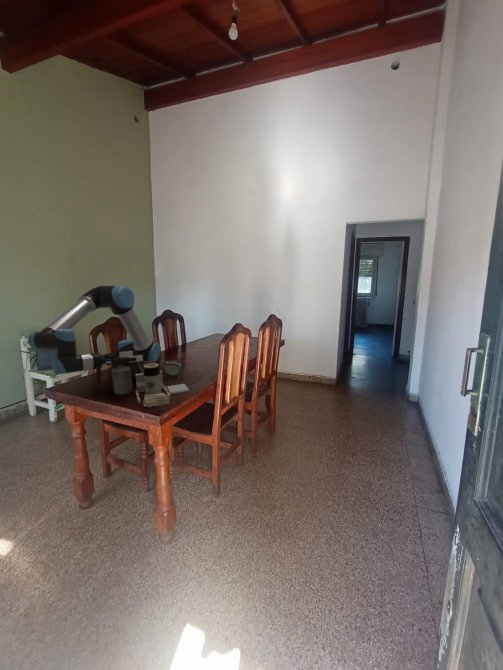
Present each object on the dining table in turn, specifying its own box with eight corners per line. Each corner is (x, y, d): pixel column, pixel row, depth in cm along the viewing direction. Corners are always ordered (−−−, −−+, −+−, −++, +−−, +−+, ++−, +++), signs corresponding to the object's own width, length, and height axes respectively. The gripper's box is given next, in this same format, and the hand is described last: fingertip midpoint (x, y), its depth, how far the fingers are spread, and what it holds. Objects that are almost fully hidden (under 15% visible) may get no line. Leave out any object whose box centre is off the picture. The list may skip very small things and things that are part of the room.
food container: (186, 377, 209) (185, 361, 207) (180, 380, 204) (179, 364, 202) (170, 374, 214) (169, 359, 212) (164, 377, 209) (162, 362, 207)
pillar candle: (130, 388, 192) (127, 362, 189) (134, 393, 184) (132, 366, 181) (112, 391, 187) (109, 365, 184) (116, 397, 179) (112, 370, 176)
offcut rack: (135, 391, 186) (133, 374, 184) (164, 387, 192) (163, 370, 190) (140, 409, 163) (138, 389, 161) (173, 403, 169) (172, 384, 167)
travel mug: (151, 394, 181) (148, 362, 178) (164, 396, 179) (162, 363, 175) (142, 400, 174) (139, 366, 170) (156, 401, 172) (153, 367, 168)
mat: (167, 388, 191) (167, 386, 191) (184, 385, 195) (184, 383, 195) (170, 394, 182) (170, 392, 182) (188, 391, 186) (188, 389, 186)
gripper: (85, 364, 165) (129, 358, 178) (99, 375, 146) (147, 367, 159) (84, 349, 164) (128, 344, 177) (98, 358, 145) (146, 352, 158)
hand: (137, 355), depth 168 cm, fingers open, 13 cm apart
